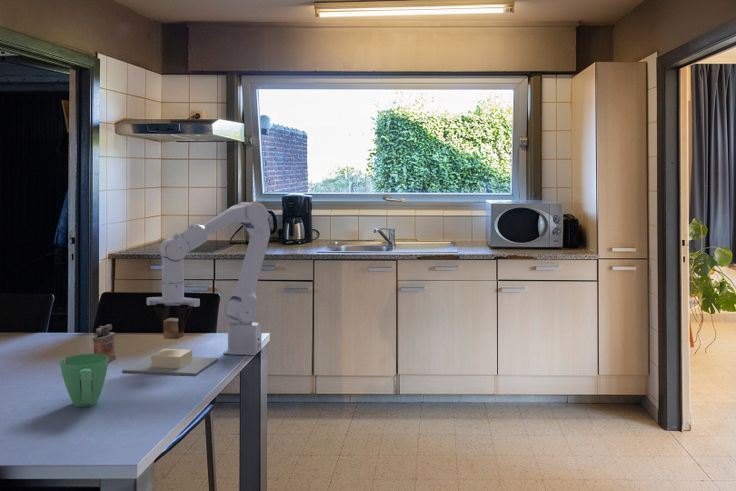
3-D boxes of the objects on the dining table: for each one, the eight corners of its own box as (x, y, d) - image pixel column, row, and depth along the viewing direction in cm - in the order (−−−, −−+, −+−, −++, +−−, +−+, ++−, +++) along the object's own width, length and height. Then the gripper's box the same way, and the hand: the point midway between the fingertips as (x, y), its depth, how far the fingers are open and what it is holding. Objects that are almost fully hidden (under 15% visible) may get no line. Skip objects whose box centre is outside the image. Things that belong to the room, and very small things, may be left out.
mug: (60, 399, 149) (59, 356, 148) (107, 394, 153) (106, 351, 152) (62, 420, 136) (60, 372, 135) (113, 413, 140) (112, 367, 139)
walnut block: (183, 336, 184) (183, 318, 184) (177, 339, 180) (177, 321, 180) (170, 335, 185) (169, 317, 184) (163, 338, 181) (163, 320, 180)
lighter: (101, 366, 178) (100, 329, 177) (90, 365, 179) (89, 328, 178) (118, 358, 186) (117, 323, 185) (107, 358, 187) (106, 323, 186)
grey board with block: (218, 360, 185) (218, 347, 185) (196, 375, 169) (195, 361, 169) (150, 357, 188) (150, 344, 188) (122, 372, 172) (122, 358, 172)
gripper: (140, 283, 178) (141, 333, 179) (192, 285, 176) (192, 335, 177) (153, 280, 185) (153, 328, 186) (202, 281, 183) (203, 330, 184)
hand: (173, 331), depth 182 cm, fingers closed on walnut block, 4 cm apart
